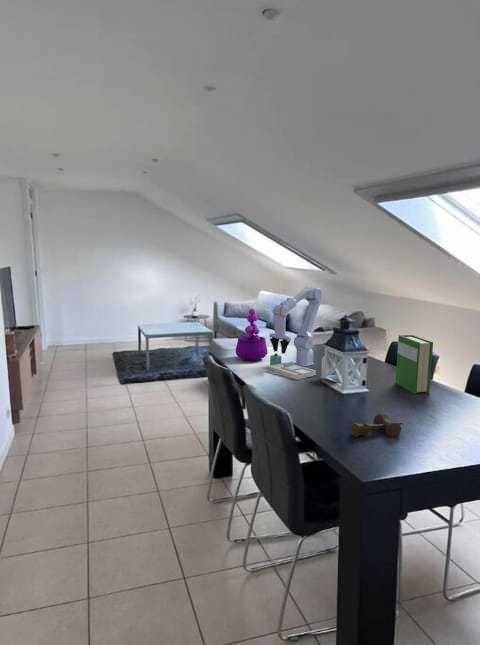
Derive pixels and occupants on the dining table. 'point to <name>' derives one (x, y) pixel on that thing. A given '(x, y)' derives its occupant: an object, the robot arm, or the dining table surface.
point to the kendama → (377, 426)
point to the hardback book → (414, 363)
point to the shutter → (291, 366)
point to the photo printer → (323, 368)
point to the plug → (275, 359)
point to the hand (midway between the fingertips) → (279, 352)
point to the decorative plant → (251, 341)
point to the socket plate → (291, 371)
